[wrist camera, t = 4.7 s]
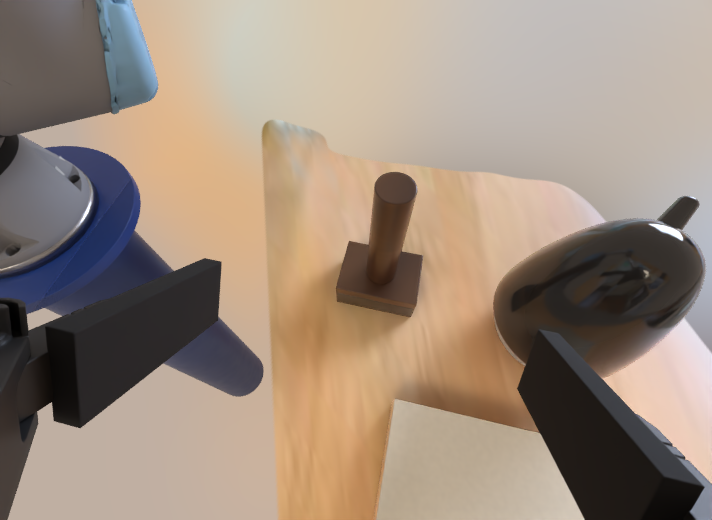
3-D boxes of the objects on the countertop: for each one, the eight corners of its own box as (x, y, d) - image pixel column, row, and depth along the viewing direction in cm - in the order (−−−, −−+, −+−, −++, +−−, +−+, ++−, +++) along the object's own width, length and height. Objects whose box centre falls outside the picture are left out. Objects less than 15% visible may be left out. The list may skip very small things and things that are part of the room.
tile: (360, 597, 22) (362, 610, 20) (391, 401, 27) (394, 398, 26) (587, 664, 20) (609, 685, 19) (569, 444, 26) (584, 443, 24)
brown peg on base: (336, 301, 32) (329, 208, 19) (348, 256, 34) (349, 149, 22) (410, 317, 31) (450, 231, 19) (417, 270, 33) (457, 167, 21)
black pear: (614, 329, 31) (813, 238, 18) (559, 419, 27) (761, 388, 14) (516, 260, 34) (622, 141, 21) (456, 331, 30) (538, 240, 17)
